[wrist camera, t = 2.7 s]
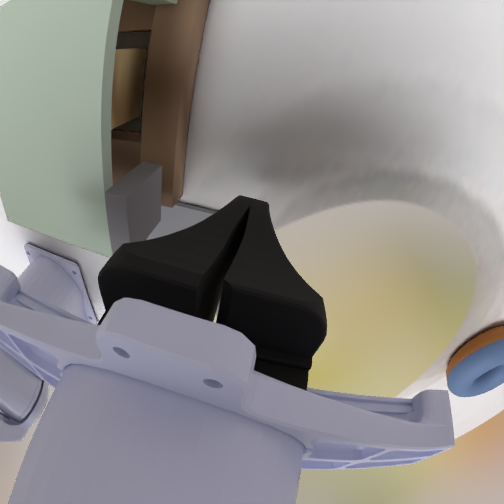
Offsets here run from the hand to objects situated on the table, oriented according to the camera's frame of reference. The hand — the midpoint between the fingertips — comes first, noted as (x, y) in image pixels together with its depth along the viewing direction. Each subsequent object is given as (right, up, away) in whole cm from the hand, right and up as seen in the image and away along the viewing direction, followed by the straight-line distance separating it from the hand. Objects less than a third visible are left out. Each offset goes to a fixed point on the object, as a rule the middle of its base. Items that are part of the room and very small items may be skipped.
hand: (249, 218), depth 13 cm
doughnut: (+24, -12, +9) cm, 28 cm away
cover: (-7, +7, -1) cm, 10 cm away
